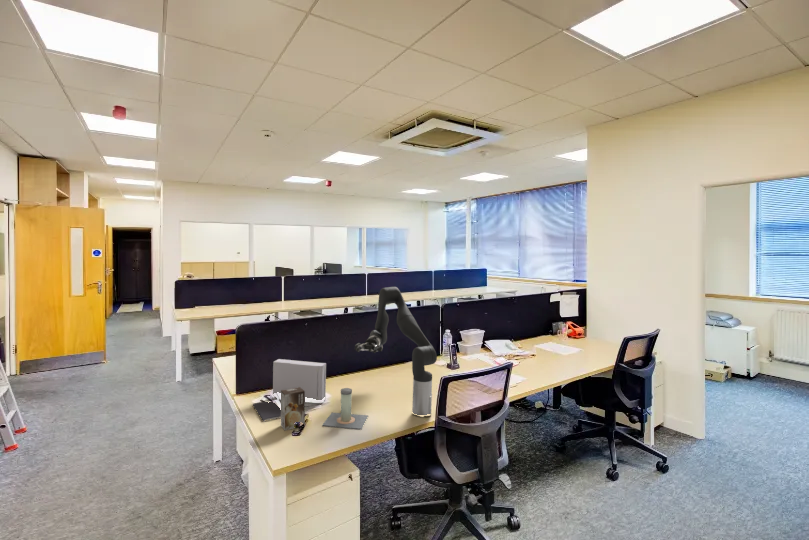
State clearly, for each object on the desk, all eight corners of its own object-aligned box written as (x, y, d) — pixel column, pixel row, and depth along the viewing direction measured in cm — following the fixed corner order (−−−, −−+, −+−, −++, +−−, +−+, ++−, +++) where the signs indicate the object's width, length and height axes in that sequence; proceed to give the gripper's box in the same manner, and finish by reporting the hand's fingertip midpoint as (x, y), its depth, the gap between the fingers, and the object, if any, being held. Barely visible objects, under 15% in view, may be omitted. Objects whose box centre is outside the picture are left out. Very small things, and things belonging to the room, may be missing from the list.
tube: (352, 417, 179) (353, 388, 179) (349, 422, 174) (350, 392, 173) (342, 416, 180) (342, 387, 179) (338, 421, 175) (339, 391, 174)
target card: (368, 416, 183) (368, 415, 183) (361, 429, 169) (361, 428, 169) (331, 413, 185) (331, 412, 185) (322, 426, 171) (322, 424, 171)
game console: (320, 404, 195) (321, 366, 194) (272, 399, 200) (273, 361, 200) (325, 400, 201) (326, 363, 200) (278, 395, 206) (278, 358, 205)
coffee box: (300, 420, 176) (300, 386, 175) (304, 426, 171) (305, 390, 170) (280, 425, 171) (280, 389, 170) (284, 431, 166) (284, 394, 165)
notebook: (252, 406, 192) (263, 422, 174) (252, 403, 192) (263, 419, 174) (278, 401, 199) (290, 416, 181) (278, 398, 199) (291, 413, 181)
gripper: (360, 336, 213) (352, 342, 197) (385, 337, 211) (379, 344, 195) (359, 349, 213) (352, 357, 197) (385, 350, 212) (379, 358, 195)
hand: (366, 350), depth 196 cm, fingers open, 8 cm apart
